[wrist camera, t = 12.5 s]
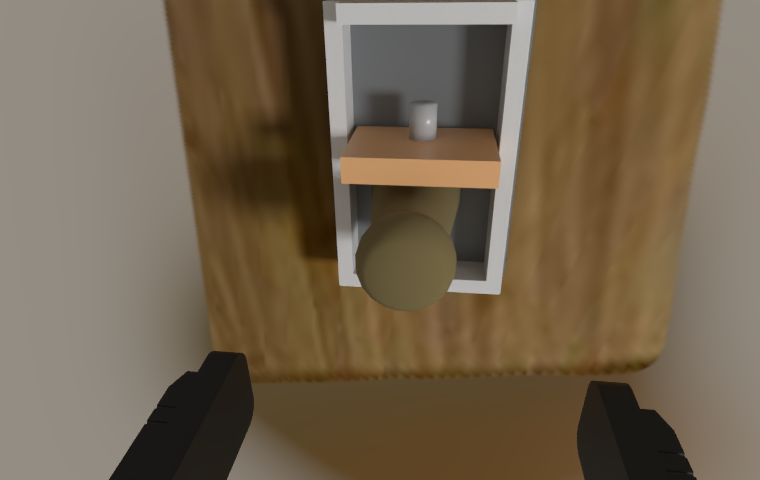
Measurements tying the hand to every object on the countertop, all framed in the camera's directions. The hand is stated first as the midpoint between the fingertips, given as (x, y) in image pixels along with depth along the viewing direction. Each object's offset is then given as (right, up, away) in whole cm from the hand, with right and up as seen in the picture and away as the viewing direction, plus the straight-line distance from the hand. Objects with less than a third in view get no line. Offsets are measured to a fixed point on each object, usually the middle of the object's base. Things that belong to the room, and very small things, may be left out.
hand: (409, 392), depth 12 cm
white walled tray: (+2, +10, +22) cm, 24 cm away
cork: (+2, +7, +22) cm, 24 cm away
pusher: (+2, +11, +20) cm, 23 cm away
